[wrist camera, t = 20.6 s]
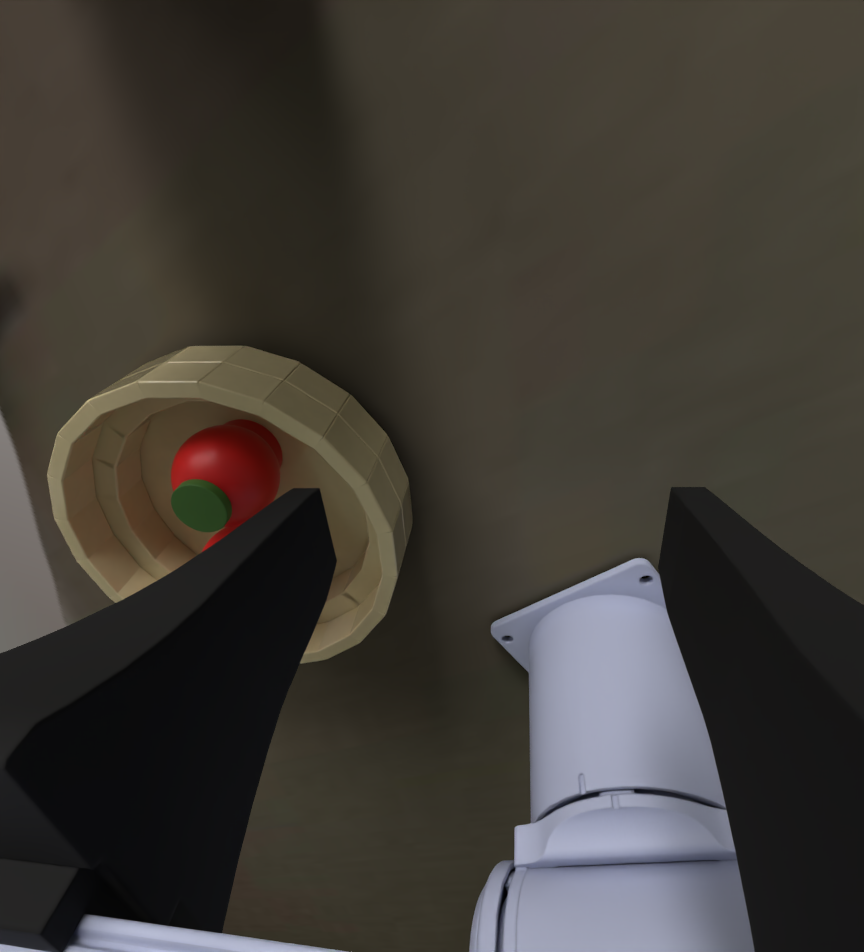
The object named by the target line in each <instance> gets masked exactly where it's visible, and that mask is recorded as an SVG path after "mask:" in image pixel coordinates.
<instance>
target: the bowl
mask: <svg viewBox="0 0 864 952" xmlns="http://www.w3.org/2000/svg"><path fill="white" fill-rule="evenodd" d="M237 419H245V420H250V421H253V422H256V423H258V424H260V425H262V426H264V427H265V428H267V429H268V430H269V431H270V432H271V433H272V434H273V435H274V436H275V438H276V439H277V441H278V442H279V444H280V447H281V450H282V465H281V467H280V484H279V489H278V492H277V495H276V497H275V499H274V500H276V499H277V498H279V497H280V496H282V495H283V494H285V493H286V492H288V491H289V490H291V489H293V488H320V492H321V496H322V500H323V504H324V508H325V513H326V517H327V521H328V525H329V529H330V534H331V538H332V542H333V546H334V550H335V555H336V559H337V563H336V567H335V571H334V575H333V579H332V583H331V586H330V590H329V593H328V597H327V600H326V603H325V605H324V608H323V610H322V613H321V615H320V617H319V620H318V622H317V625H316V627H315V629H314V632H313V634H312V636H311V639H310V641H309V643H308V646H307V648H306V650H305V652H304V655H303V657H302V659H301V662H300V664H303V663H309V662H316V661H322V660H327V659H329V658H331V657H333V656H335V655H337V654H339V653H341V652H343V651H345V650H347V649H349V648H351V647H353V646H355V645H357V644H359V643H360V642H362V641H363V640H364V638H365V637H366V636H367V635H368V634H369V633H370V632H371V631H372V630H373V629H374V627H375V626H376V625H377V624H378V623H379V622H380V621H381V620H382V619H383V618H384V616H385V615H386V613H387V611H388V608H389V605H390V602H391V598H392V595H393V592H394V589H395V586H396V582H397V579H398V576H399V572H400V568H401V565H402V561H403V558H404V554H405V550H406V547H407V543H408V540H409V536H410V532H411V529H412V525H413V524H412V523H413V518H412V507H411V497H410V486H409V481H408V477H407V475H406V473H405V471H404V468H403V466H402V464H401V462H400V460H399V458H398V456H397V454H396V451H395V449H394V447H393V445H392V443H391V441H390V439H389V437H388V435H387V434H386V432H385V431H384V430H383V429H382V428H381V427H380V426H379V425H378V424H377V422H376V421H375V420H374V419H373V418H372V417H371V416H370V415H369V414H368V413H367V411H366V410H365V409H364V408H363V407H362V406H361V405H360V404H359V403H358V401H357V400H356V399H355V398H354V397H353V396H352V395H350V394H349V393H348V392H346V391H345V390H343V389H342V388H340V387H338V386H337V385H335V384H334V383H332V382H330V381H329V380H327V379H326V378H324V377H323V376H321V375H319V374H318V373H316V372H315V371H313V370H312V369H310V368H308V367H307V366H305V365H304V364H300V362H298V361H295V360H292V359H288V358H285V357H282V356H279V355H275V354H272V353H269V352H265V351H262V350H259V349H255V348H252V347H249V346H191V347H190V346H189V347H186V348H184V349H181V350H178V351H176V352H173V353H171V354H168V355H166V356H163V357H161V358H158V359H156V360H153V361H150V362H148V363H146V364H144V365H143V366H141V367H140V368H138V369H136V370H135V371H133V372H132V373H130V374H129V375H127V376H125V377H124V378H122V379H121V380H119V381H117V382H116V383H114V384H113V385H111V386H109V387H108V388H106V389H105V390H103V391H101V392H100V393H98V394H97V395H95V396H93V397H92V398H90V399H89V400H87V401H86V402H85V403H84V404H83V406H82V407H81V408H80V409H79V410H78V411H77V412H76V413H75V414H74V415H73V416H72V417H71V419H70V420H69V421H68V422H67V423H66V424H65V425H64V426H63V427H62V428H61V429H60V430H59V432H58V434H57V437H56V441H55V445H54V448H53V452H52V456H51V460H50V464H49V468H48V472H47V474H48V475H47V479H48V485H49V491H50V497H51V503H52V509H53V515H54V518H55V521H56V523H57V525H58V527H59V529H60V531H61V533H62V535H63V537H64V539H65V541H66V542H67V544H68V546H69V548H70V550H71V552H72V554H73V556H74V558H75V559H76V560H77V562H78V564H79V565H80V566H81V567H82V568H83V569H84V570H85V571H86V573H87V574H88V575H89V576H90V577H91V578H92V579H93V581H94V582H95V583H96V584H97V585H98V586H99V587H100V588H101V590H102V591H103V592H104V593H105V594H106V595H107V596H108V597H109V598H110V599H111V600H112V601H114V602H115V603H117V602H119V601H121V600H123V599H125V598H127V597H129V596H130V595H132V594H134V593H136V592H138V591H140V590H141V589H143V588H145V587H147V586H148V585H150V584H152V583H154V582H156V581H157V580H159V579H161V578H162V577H164V576H166V575H167V574H169V573H171V572H172V571H174V570H176V569H177V568H179V567H180V566H182V565H183V564H185V563H186V562H188V561H189V560H191V559H192V558H194V557H195V556H197V555H198V554H200V553H201V552H202V550H203V548H204V547H205V545H206V544H207V542H208V541H209V540H210V539H211V538H212V537H213V536H214V535H215V534H216V533H218V532H219V531H220V530H222V529H224V528H226V527H223V528H222V529H220V530H218V531H215V532H201V531H197V530H194V529H192V528H190V527H188V526H187V525H185V524H184V523H183V522H182V521H181V520H180V519H179V518H178V517H177V516H176V514H175V513H174V511H173V509H172V505H171V497H172V494H173V489H172V484H171V468H172V464H173V460H174V458H175V455H176V453H177V452H178V450H179V448H180V447H181V446H182V445H183V443H184V442H185V441H186V440H187V439H188V438H190V437H191V436H192V435H194V434H195V433H197V432H199V431H201V430H203V429H205V428H208V427H212V426H217V425H223V424H225V423H227V422H229V421H232V420H237Z"/></svg>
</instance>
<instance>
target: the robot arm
mask: <svg viewBox="0 0 864 952" xmlns="http://www.w3.org/2000/svg"><path fill="white" fill-rule="evenodd" d="M336 563H337V559H336V555H335V550H334V546H333V542H332V538H331V534H330V529H329V525H328V521H327V517H326V513H325V508H324V504H323V500H322V496H321V492H320V488H293V489H291V490H289V491H288V492H286V493H285V494H283V495H282V496H280V497H279V498H277V499H276V500H274V501H273V502H272V503H270V504H269V505H268V506H266V507H265V508H263V509H262V510H261V511H259V512H258V513H257V514H255V515H254V516H253V517H251V518H250V519H248V520H247V521H246V522H244V523H243V524H242V525H240V526H239V527H237V528H236V529H235V530H233V531H232V532H231V533H229V534H228V535H226V536H225V537H224V538H222V539H221V540H219V541H218V542H216V543H215V544H213V545H212V546H210V547H209V548H207V549H206V550H204V551H203V552H201V553H200V554H198V555H197V556H195V557H194V558H192V559H191V560H189V561H188V562H186V563H185V564H183V565H182V566H180V567H179V568H177V569H176V570H174V571H172V572H171V573H169V574H167V575H166V576H164V577H162V578H161V579H159V580H157V581H156V582H154V583H152V584H150V585H148V586H147V587H145V588H143V589H141V590H140V591H138V592H136V593H134V594H132V595H130V596H129V597H127V598H125V599H123V600H121V601H119V602H117V603H115V604H113V605H111V606H109V607H106V608H104V609H102V610H100V611H98V612H96V613H94V614H92V615H90V616H88V617H86V618H84V619H82V620H80V621H78V622H75V623H73V624H71V625H69V626H67V627H64V628H62V629H60V630H57V631H55V632H53V633H50V634H48V635H46V636H43V637H41V638H39V639H36V640H34V641H31V642H29V643H26V644H24V645H21V646H19V647H16V648H14V649H11V650H8V651H6V652H3V653H0V952H348V951H341V950H334V949H327V948H320V947H313V946H306V945H299V944H292V943H285V942H278V941H271V940H264V939H257V938H250V937H243V936H236V935H229V934H222V930H223V925H224V921H225V916H226V912H227V907H228V903H229V899H230V894H231V890H232V885H233V881H234V877H235V872H236V868H237V863H238V859H239V855H240V851H241V848H242V844H243V840H244V836H245V832H246V828H247V824H248V820H249V816H250V812H251V808H252V805H253V801H254V797H255V794H256V790H257V787H258V783H259V780H260V776H261V773H262V769H263V766H264V762H265V759H266V755H267V752H268V749H269V746H270V743H271V739H272V736H273V733H274V730H275V726H276V723H277V720H278V717H279V714H280V711H281V708H282V705H283V703H284V700H285V697H286V695H287V692H288V690H289V687H290V685H291V683H292V680H293V678H294V676H295V673H296V671H297V669H298V666H299V664H300V662H301V659H302V657H303V655H304V652H305V650H306V648H307V646H308V643H309V641H310V639H311V636H312V634H313V632H314V629H315V627H316V625H317V622H318V620H319V617H320V615H321V613H322V610H323V608H324V605H325V603H326V600H327V597H328V593H329V590H330V586H331V583H332V579H333V575H334V571H335V567H336ZM658 569H659V573H658V572H657V571H656V570H655V568H654V567H653V566H652V564H651V563H650V562H649V561H648V560H646V559H643V558H636V559H632V560H630V561H628V562H626V563H624V564H621V565H619V566H617V567H615V568H612V569H610V570H608V571H606V572H603V573H601V574H599V575H597V576H595V577H592V578H590V579H588V580H586V581H583V582H581V583H579V584H577V585H574V586H572V587H570V588H568V589H566V590H563V591H561V592H559V593H557V594H554V595H552V596H550V597H548V598H545V599H543V600H541V601H539V602H537V603H534V604H532V605H530V606H528V607H525V608H523V609H521V610H519V611H517V612H514V613H512V614H510V615H508V616H505V617H503V618H501V619H499V620H496V621H495V622H493V623H492V625H491V634H492V636H493V637H494V638H495V639H496V640H497V641H498V642H499V643H500V644H501V645H502V646H503V647H504V648H505V649H506V650H507V651H508V652H509V653H510V654H511V655H512V656H513V657H514V658H515V659H516V660H517V661H518V662H519V663H520V665H521V666H522V667H523V668H524V669H525V670H526V671H527V672H528V673H529V720H530V800H531V823H530V824H525V825H518V826H516V827H515V847H514V860H506V861H501V862H499V863H498V864H497V865H496V866H495V867H494V869H493V870H492V872H491V874H490V875H489V878H488V880H487V883H486V885H485V886H484V888H483V889H482V891H481V893H480V896H479V898H478V901H477V904H476V908H475V912H474V917H473V922H472V929H471V937H470V948H469V952H864V605H862V604H861V603H859V602H857V601H856V600H854V599H852V598H851V597H849V596H848V595H846V594H845V593H843V592H842V591H840V590H839V589H837V588H836V587H834V586H833V585H831V584H830V583H828V582H827V581H825V580H824V579H823V578H821V577H820V576H818V575H817V574H815V573H814V572H812V571H811V570H810V569H808V568H807V567H805V566H804V565H803V564H801V563H800V562H798V561H797V560H796V559H794V558H793V557H792V556H790V555H789V554H788V553H786V552H785V551H784V550H782V549H781V548H780V547H778V546H777V545H776V544H775V543H773V542H772V541H771V540H769V539H768V538H767V537H766V536H764V535H763V534H762V533H761V532H759V531H758V530H757V529H756V528H754V527H753V526H752V525H751V524H749V523H748V522H747V521H746V520H745V519H743V518H742V517H741V516H740V515H738V514H737V513H736V512H735V511H734V510H732V509H731V508H730V507H729V506H728V505H726V504H725V503H724V502H723V501H722V500H720V499H719V498H718V497H717V496H715V495H714V494H713V493H712V492H710V491H709V490H708V489H706V488H705V487H671V491H670V497H669V504H668V510H667V516H666V522H665V529H664V535H663V541H662V547H661V553H660V560H659V566H658ZM659 574H660V575H659ZM643 576H650V577H648V578H645V579H643V578H641V577H643ZM505 636H511V637H505Z"/></svg>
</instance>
